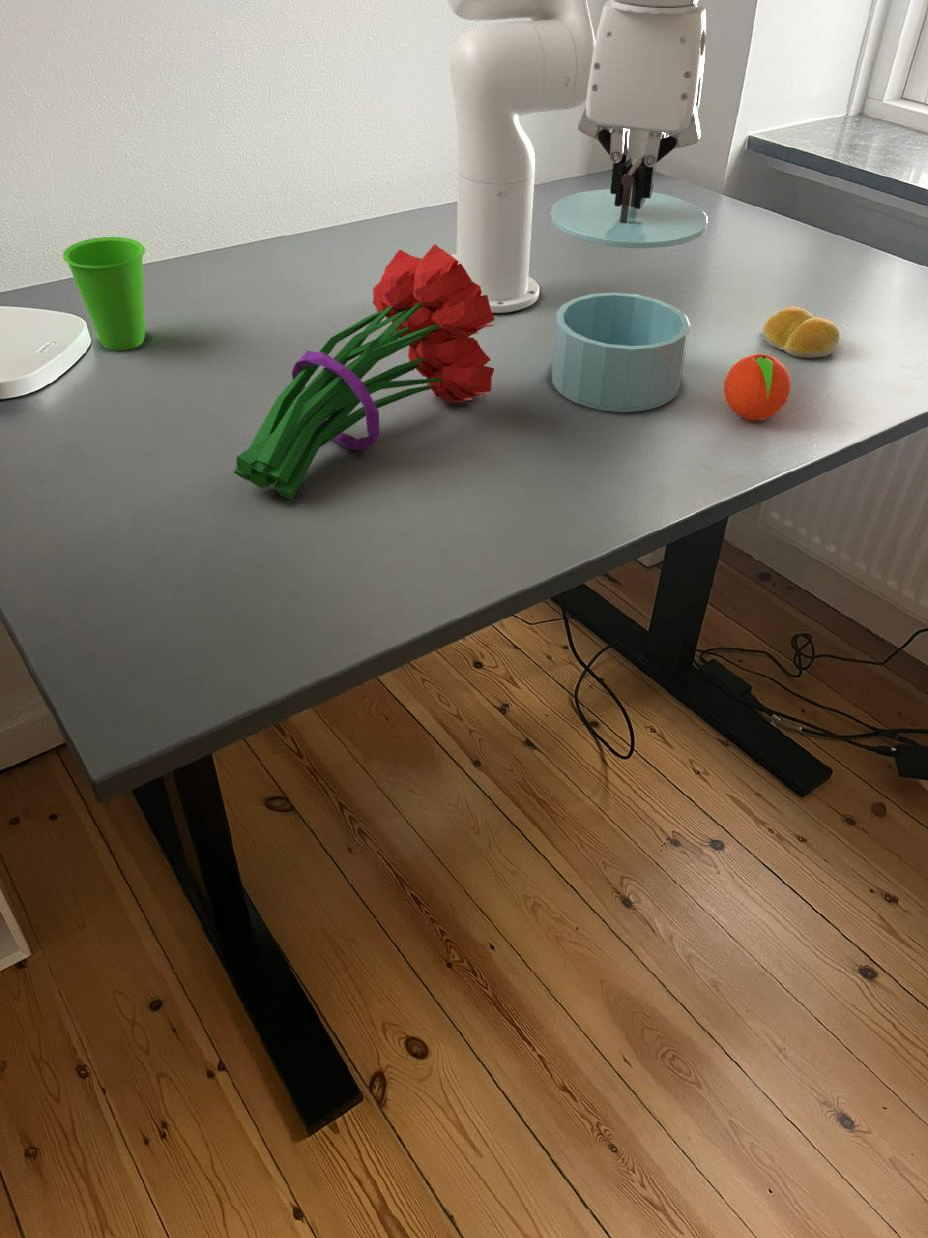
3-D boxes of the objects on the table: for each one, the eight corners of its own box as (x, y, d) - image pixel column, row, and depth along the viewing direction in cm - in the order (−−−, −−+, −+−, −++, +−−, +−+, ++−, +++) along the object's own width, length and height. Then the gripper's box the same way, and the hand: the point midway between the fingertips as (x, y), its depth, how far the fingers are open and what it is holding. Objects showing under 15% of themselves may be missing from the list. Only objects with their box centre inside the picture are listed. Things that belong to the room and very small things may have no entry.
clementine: (791, 437, 108) (807, 376, 103) (726, 436, 108) (739, 375, 103) (775, 401, 114) (789, 342, 109) (713, 399, 114) (725, 340, 109)
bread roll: (811, 366, 120) (820, 335, 118) (750, 341, 126) (757, 310, 123) (851, 347, 125) (859, 316, 122) (790, 323, 130) (797, 293, 127)
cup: (176, 341, 123) (160, 250, 115) (110, 365, 117) (89, 272, 110) (134, 319, 127) (116, 230, 120) (69, 341, 122) (46, 250, 115)
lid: (532, 241, 98) (535, 179, 95) (571, 193, 110) (576, 136, 106) (692, 263, 95) (702, 199, 91) (716, 211, 106) (726, 152, 102)
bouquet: (225, 518, 105) (407, 363, 119) (340, 581, 98) (521, 407, 111) (159, 362, 90) (377, 203, 104) (290, 421, 82) (506, 242, 96)
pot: (536, 398, 113) (540, 335, 108) (570, 344, 124) (575, 284, 119) (665, 422, 110) (675, 358, 105) (688, 364, 120) (699, 303, 116)
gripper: (750, -13, 90) (713, 201, 102) (580, -25, 93) (564, 183, 105) (739, 1, 84) (702, 225, 96) (559, -12, 88) (545, 205, 100)
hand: (630, 202), depth 101 cm, fingers closed on lid, 1 cm apart
